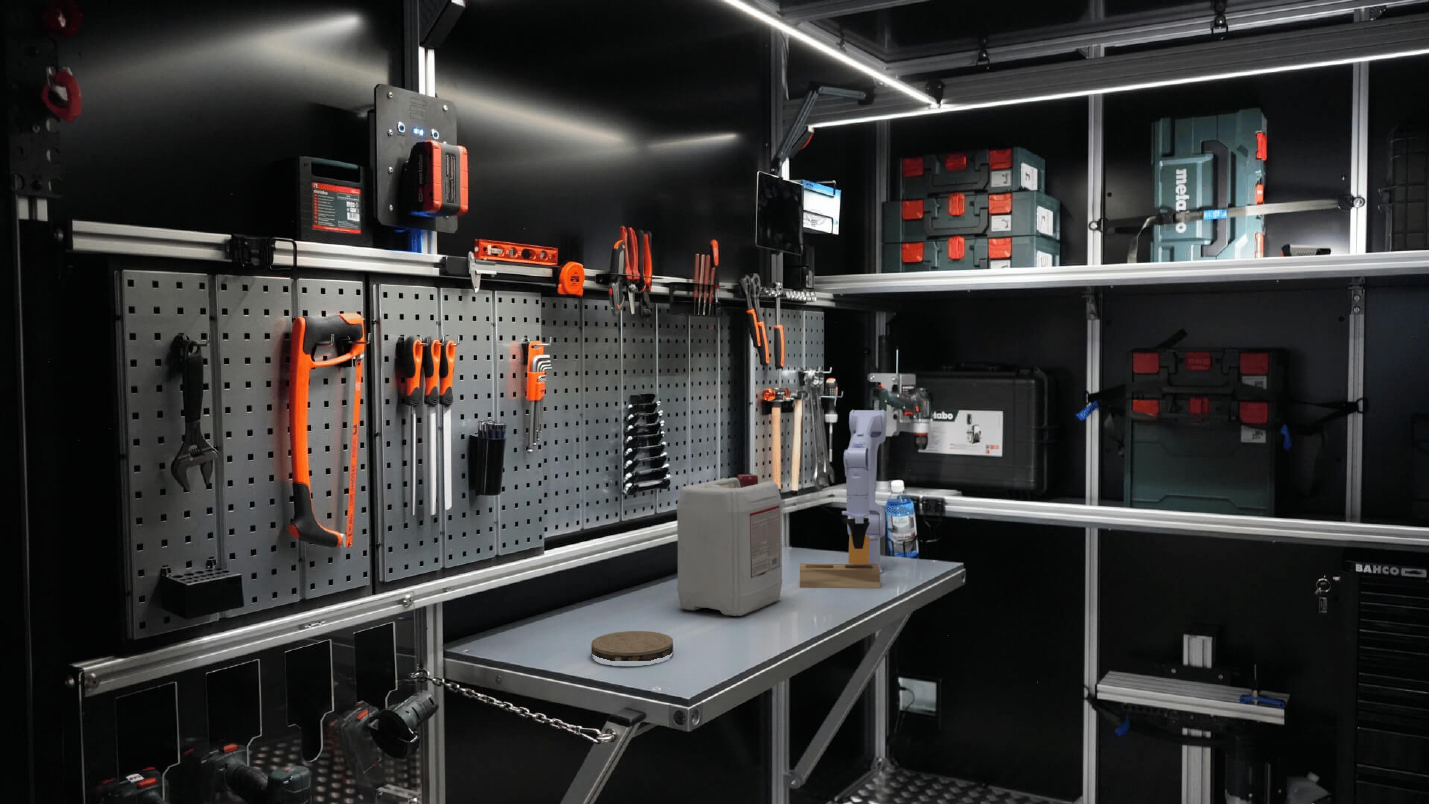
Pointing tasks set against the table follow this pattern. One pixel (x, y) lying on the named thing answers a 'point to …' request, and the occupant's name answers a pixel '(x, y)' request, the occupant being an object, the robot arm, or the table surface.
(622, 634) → the brown round disc
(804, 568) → the slotted wooden block
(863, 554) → the orange wooden block
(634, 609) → the table surface
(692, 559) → the jerry can
